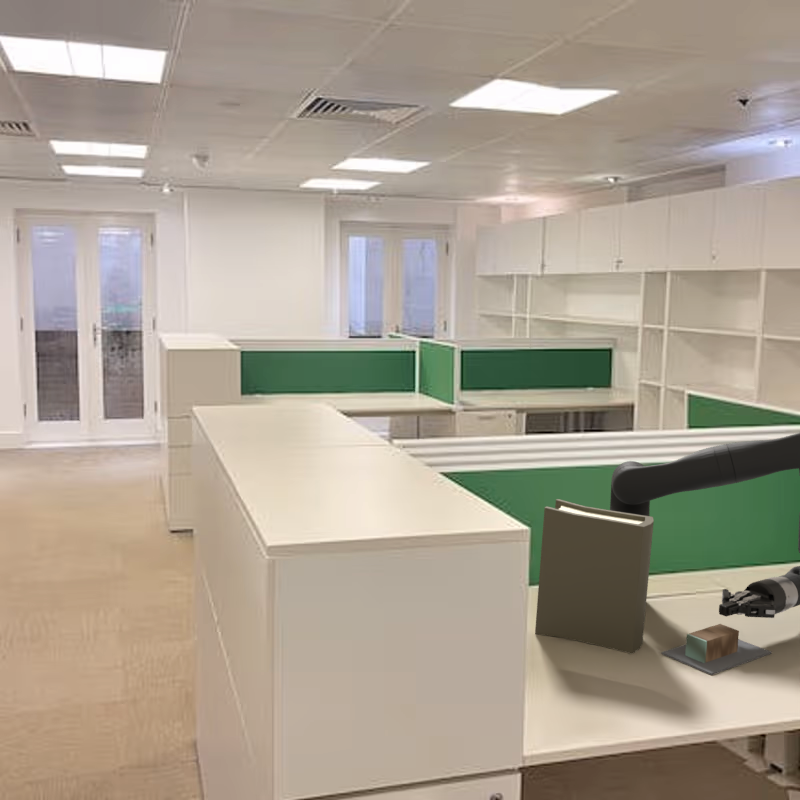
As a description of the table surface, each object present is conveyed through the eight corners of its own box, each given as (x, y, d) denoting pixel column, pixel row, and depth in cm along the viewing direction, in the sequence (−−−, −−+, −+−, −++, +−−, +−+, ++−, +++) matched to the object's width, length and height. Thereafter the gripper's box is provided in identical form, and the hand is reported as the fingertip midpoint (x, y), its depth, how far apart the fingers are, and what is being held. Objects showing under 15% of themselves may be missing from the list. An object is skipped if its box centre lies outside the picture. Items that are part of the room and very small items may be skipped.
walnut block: (737, 651, 188) (703, 663, 181) (718, 644, 191) (685, 655, 185) (738, 630, 187) (705, 641, 181) (720, 623, 191) (686, 634, 184)
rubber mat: (711, 675, 177) (711, 673, 177) (661, 653, 186) (661, 651, 186) (771, 653, 188) (771, 651, 188) (721, 634, 198) (721, 632, 198)
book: (645, 641, 194) (656, 514, 190) (635, 657, 186) (647, 524, 182) (548, 620, 204) (557, 498, 200) (535, 634, 195) (544, 507, 191)
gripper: (745, 571, 201) (696, 584, 191) (801, 588, 191) (752, 602, 181) (743, 603, 202) (694, 618, 192) (798, 622, 192) (749, 638, 182)
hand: (722, 610), depth 187 cm, fingers closed
